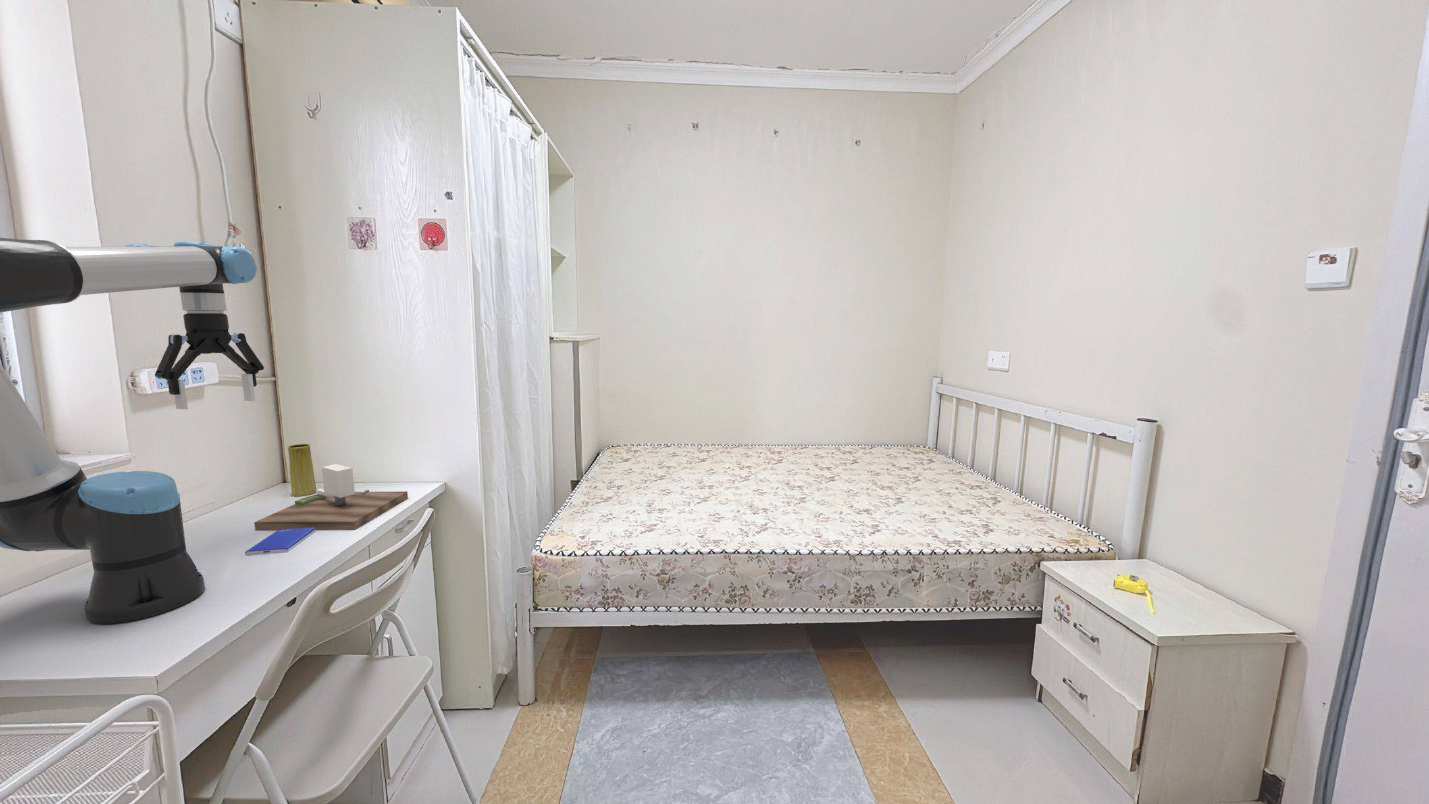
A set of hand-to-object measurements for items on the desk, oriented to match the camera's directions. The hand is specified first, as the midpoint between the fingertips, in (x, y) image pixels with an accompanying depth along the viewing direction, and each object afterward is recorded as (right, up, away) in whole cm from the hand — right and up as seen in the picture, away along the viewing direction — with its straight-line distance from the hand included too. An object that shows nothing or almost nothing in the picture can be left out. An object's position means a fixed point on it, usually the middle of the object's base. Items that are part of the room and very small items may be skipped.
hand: (217, 404), depth 131 cm
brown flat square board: (+17, -29, +16) cm, 37 cm away
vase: (-4, -26, +33) cm, 43 cm away
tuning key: (+15, -26, +18) cm, 35 cm away
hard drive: (+17, -32, -3) cm, 37 cm away
